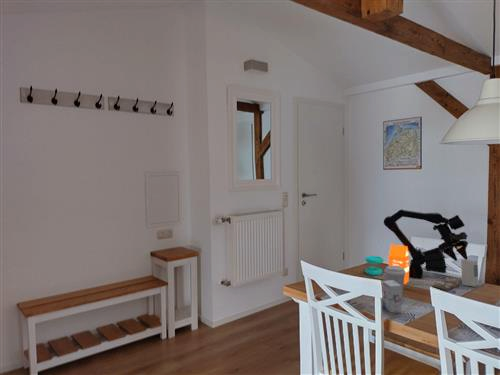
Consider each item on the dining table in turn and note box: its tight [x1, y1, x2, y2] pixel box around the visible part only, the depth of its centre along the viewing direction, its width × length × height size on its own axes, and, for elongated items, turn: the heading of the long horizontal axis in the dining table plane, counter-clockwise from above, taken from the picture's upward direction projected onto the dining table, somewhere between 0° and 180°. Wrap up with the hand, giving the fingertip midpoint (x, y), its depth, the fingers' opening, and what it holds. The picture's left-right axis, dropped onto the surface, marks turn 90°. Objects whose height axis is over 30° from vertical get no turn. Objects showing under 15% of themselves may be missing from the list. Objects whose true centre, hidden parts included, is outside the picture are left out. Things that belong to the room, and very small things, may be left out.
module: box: [460, 259, 479, 288], centre depth 196 cm, size 6×4×13 cm
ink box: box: [382, 280, 402, 314], centre depth 162 cm, size 9×5×12 cm, turn 5°
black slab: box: [422, 246, 447, 274], centre depth 225 cm, size 4×13×15 cm, turn 47°
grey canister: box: [383, 265, 406, 302], centre depth 175 cm, size 10×10×15 cm
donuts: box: [364, 255, 384, 277], centre depth 219 cm, size 10×10×10 cm
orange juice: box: [388, 244, 410, 285], centre depth 204 cm, size 8×9×20 cm
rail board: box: [431, 276, 460, 292], centre depth 193 cm, size 14×7×4 cm, turn 125°
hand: (461, 259), depth 197 cm, fingers open, 9 cm apart
